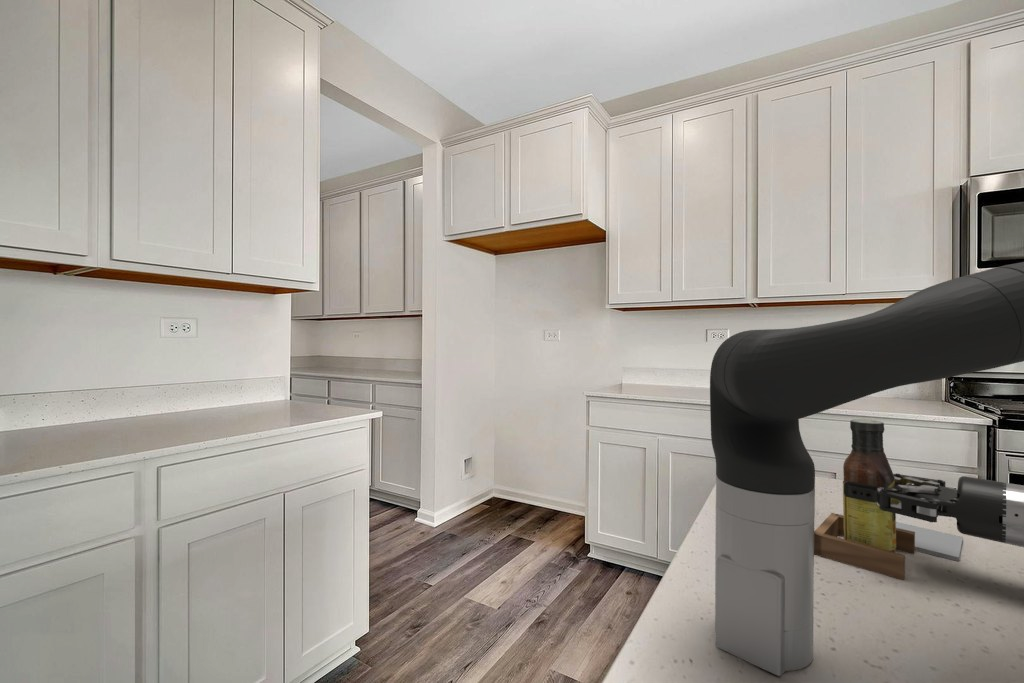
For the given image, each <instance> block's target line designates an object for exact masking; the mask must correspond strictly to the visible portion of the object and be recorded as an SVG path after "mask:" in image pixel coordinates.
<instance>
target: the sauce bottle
mask: <svg viewBox="0 0 1024 683" xmlns="http://www.w3.org/2000/svg"><path fill="white" fill-rule="evenodd" d="M849 425H850V426H849V428H850V430H851V442H852V443H851V451H850V454H848V455H847V457H846V458H845V460H844V461H843V466H842V467H843V468H842V470H843V471H842V473H843V480H842V501H843V502H842V505H843V506H842V507H843V508H842V509H843V511H842V512H843V514H842V515H843V516H844V536H843V539H846V540H850V541H854V542H857V543H861V544H865V545H869V546H873V547H877V548H880V549H884V550H888V551H892V552H896V550H895V549H896V522H897V520H896V519H897V514H896V513H892V512H888V511H883V510H881V509H879V506H878V505H876V502H875V503H874V502H869V501H865V500H860V499H855V498H850V497H846V496H845V495H844V483H845V482H846V481H851V482H857V483H862V484H867V485H873V486H876V487H880V486H882V487H889V488H894V487H895V477H894V475H893V474H894V473H893V470H892V468H891V465H890V463H889V460H888V457H887V456H886V453H885V451H884V436H883V434H884V432H885V423H884V421H881V420H874V419H865V418H864V419H863V418H859V419H858V418H857V419H856V418H855V419H851V420H850V423H849ZM894 501H895V499H894V498H891V502H894Z"/></svg>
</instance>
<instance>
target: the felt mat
mask: <svg viewBox="0 0 1024 683" xmlns="http://www.w3.org/2000/svg"><path fill="white" fill-rule="evenodd" d="M896 528H900V529H904V530H908V531H913V532H915V552H919V553H924V554H927V555H932V556H936V557H939V558H944V559H947V560H951V561H955V562H960V557H961V553H962V547H963V539H964V536H961V535H956V534H952V533H948V532H945V531H944V532H943V531H940V530H939V531H938V530H935V529H930V528H926V527H921V526H917V525H912V524H907V523H905V522H904V523H903V522H900V521H899V522H897V521H896Z"/></svg>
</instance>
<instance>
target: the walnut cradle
mask: <svg viewBox="0 0 1024 683" xmlns="http://www.w3.org/2000/svg"><path fill="white" fill-rule="evenodd" d="M838 536H841V537H844V516H843V514H840V513H838V514H837V513H835V512H831V513H830V514H829V515H828V516H827V517H826V518H825V519H824V520H823V521H822V523H821V524H820V525H819V526H818V527H817V528H816V529H814V556H815V555H816V556H819V557H823V558H826V559H829V560H833V561H837V562H840V563H842V564H847V565H849V566H854V567H857V568H860V569H864V570H868V571H871V572H874V573H878V574H881V575H885V576H889V577H891V578H895V579H898V580H901V581H904V580H905V578H906V554H907V553H908V554H911V555H914V554H915V552H916V551H915V532H913V531H908V530H904V529H900V528H896V549H895V552H892V551H888V550H884V549H880V548H877V547H873V546H869V545H865V544H861V543H857V542H854V541H850V540H846V539H844V538H841V537H838ZM896 551H899V552H896ZM900 552H903V553H905V554H903V553H900Z"/></svg>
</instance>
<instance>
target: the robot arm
mask: <svg viewBox="0 0 1024 683" xmlns="http://www.w3.org/2000/svg"><path fill="white" fill-rule="evenodd" d="M1021 362H1024V261H1022V262H1016V263H1011V264H1010V263H1009V264H1005V265H1002V266H1000V265H999V266H997V267H993V268H989V269H985V270H982V271H979V272H974V273H971V274H968V275H963V276H959V277H955V278H952V279H949V280H948V279H947V280H945V281H943V282H939V283H937V284H933V285H931V286H928V287H925V288H924V289H921V290H918V291H916V292H914V293H912V294H910V295H907V296H906V297H903V298H902V299H900V300H898V301H897V302H894V303H893V304H891V305H888V306H886V307H884V308H882V309H880V310H877V311H874V312H870V313H868V314H864V315H861V316H858V317H857V316H856V317H853V318H847V319H842V320H838V321H833V322H827V323H822V324H821V323H820V324H815V325H808V326H801V327H793V328H777V329H776V328H774V329H749V330H744V331H740V332H738V333H735V334H732V335H731V336H729V337H727V338H726V339H725V340H723V342H722V343H721V344H720V345H719V346H718V348H717V349H716V351H715V353H714V355H713V358H712V362H711V366H710V372H709V373H710V375H709V407H710V408H709V413H710V436H711V437H710V438H711V445H712V450H713V453H714V459H715V474H716V475H715V542H714V543H715V547H714V548H715V550H714V551H715V554H714V555H715V556H714V557H715V563H714V564H715V568H714V570H715V571H714V572H715V574H714V585H715V586H714V590H715V591H714V592H715V593H714V602H715V603H714V604H715V606H714V607H715V608H714V614H715V615H714V628H715V629H714V631H715V647H717V648H718V649H721V650H723V651H725V652H727V653H728V654H731V655H733V656H736V657H737V658H739V659H742V660H744V661H746V662H747V663H750V664H752V665H755V666H756V667H758V668H761V669H762V670H765V671H767V672H769V673H771V674H773V675H775V676H778V677H781V676H782V674H784V672H788V671H798V670H802V669H804V668H806V667H807V666H809V665H810V664H811V662H812V661H813V660H814V623H815V622H814V619H815V618H814V610H815V609H814V604H815V603H814V600H815V599H814V596H815V595H814V594H815V593H814V592H815V591H814V590H815V589H814V588H815V585H814V584H815V569H814V568H815V554H814V531H815V516H816V515H815V514H816V513H815V512H816V508H815V504H816V503H815V502H816V489H815V488H816V468H815V463H814V460H813V458H812V456H811V455H810V453H809V452H808V450H807V448H806V446H805V444H804V442H803V438H802V435H801V430H800V424H799V423H800V421H799V420H800V419H801V420H802V419H803V418H806V417H810V416H813V415H815V414H818V413H823V412H824V411H828V410H830V409H833V408H835V407H836V408H837V407H838V406H841V405H843V404H847V403H850V402H853V401H856V400H859V399H862V398H864V397H868V396H870V395H873V394H877V393H879V392H880V393H881V392H883V391H886V390H890V389H895V388H898V387H902V386H907V385H913V384H920V383H926V382H933V381H939V380H942V379H947V378H952V377H956V376H962V375H967V374H971V373H977V372H981V371H983V372H984V371H987V370H991V369H997V368H1001V367H1005V366H1010V365H1013V364H1017V363H1018V364H1019V363H1021ZM893 475H894V477H895V487H894V488H889V487H882V486H880V487H876V486H873V485H867V484H862V483H857V482H851V481H846V482H845V483H844V495H845V496H846V497H850V498H855V499H860V500H865V501H869V502H874V503H875V502H876V505H878V506H879V509H881V510H883V511H888V512H892V513H896V515H902V516H905V517H909V518H912V519H918V520H921V521H926V522H929V523H938V517H946V518H947V517H948V518H954V519H956V528H957V531H958V532H959V533H960V534H962V535H966V536H970V537H976V538H980V539H984V540H988V541H993V542H997V543H1001V544H1006V545H1010V546H1016V547H1020V548H1021V547H1022V548H1024V484H1023V485H1021V484H1015V483H1010V482H1009V483H1008V482H1004V481H996V480H990V479H984V478H978V477H971V476H965V475H963V476H960V477H959V478H958V481H957V489H954V488H950V487H946V481H944V480H942V479H935V478H927V477H921V476H915V475H914V476H913V475H906V474H900V473H893ZM891 498H894V499H895V501H894V502H891Z"/></svg>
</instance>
